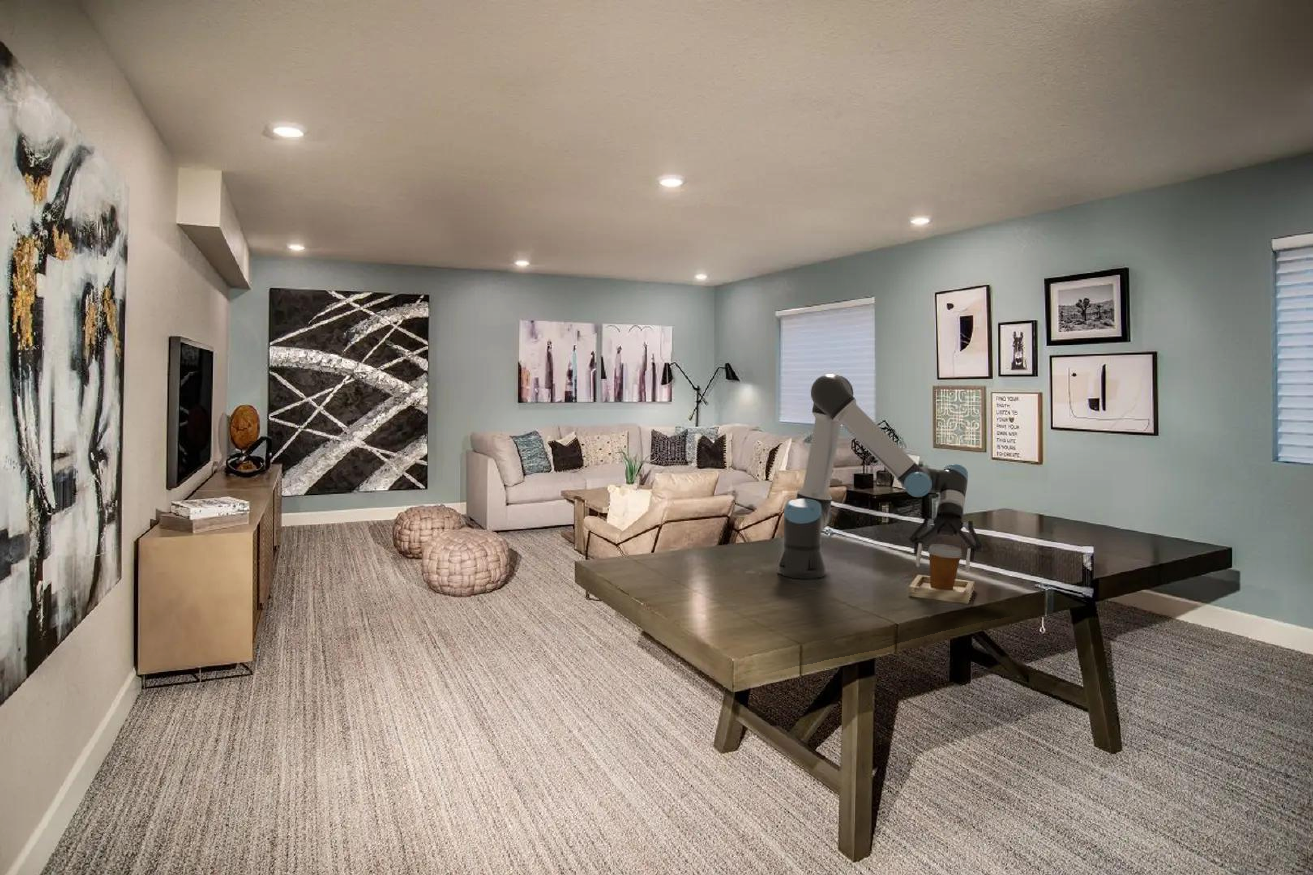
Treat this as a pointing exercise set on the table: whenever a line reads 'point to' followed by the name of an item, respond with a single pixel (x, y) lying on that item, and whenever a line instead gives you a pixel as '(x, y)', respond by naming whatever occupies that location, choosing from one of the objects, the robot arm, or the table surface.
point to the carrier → (957, 594)
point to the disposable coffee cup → (943, 565)
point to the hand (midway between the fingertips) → (941, 566)
